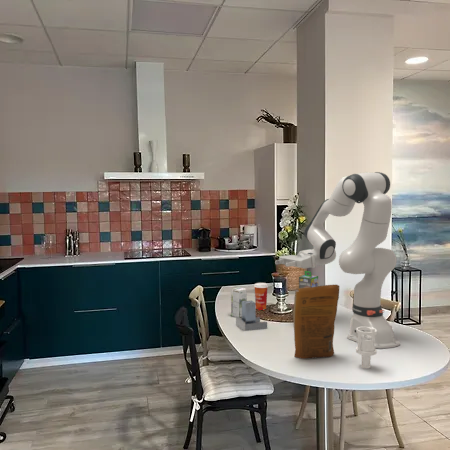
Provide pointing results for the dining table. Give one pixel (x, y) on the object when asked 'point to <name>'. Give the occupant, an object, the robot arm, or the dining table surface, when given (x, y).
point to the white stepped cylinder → (366, 345)
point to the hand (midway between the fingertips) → (280, 263)
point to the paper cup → (261, 295)
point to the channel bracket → (250, 324)
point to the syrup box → (237, 301)
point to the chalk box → (308, 280)
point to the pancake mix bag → (315, 321)
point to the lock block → (249, 312)
